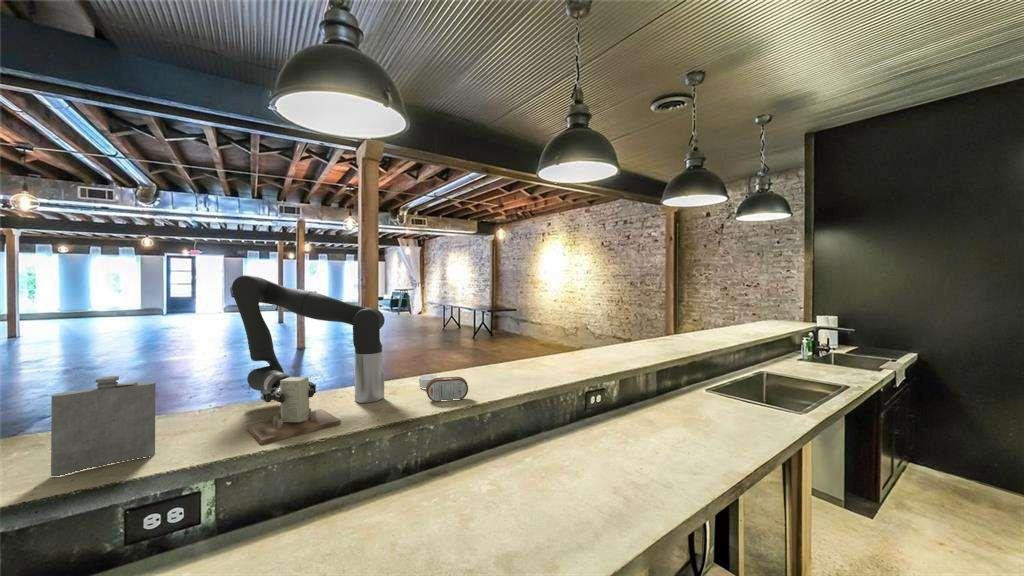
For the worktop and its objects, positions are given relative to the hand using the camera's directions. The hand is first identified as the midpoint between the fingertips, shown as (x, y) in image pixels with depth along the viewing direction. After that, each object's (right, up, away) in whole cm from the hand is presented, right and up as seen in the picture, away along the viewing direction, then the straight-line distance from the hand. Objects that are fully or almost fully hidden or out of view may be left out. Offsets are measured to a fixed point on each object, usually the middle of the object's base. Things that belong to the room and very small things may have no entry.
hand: (297, 396), depth 105 cm
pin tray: (-2, -9, +1) cm, 10 cm away
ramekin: (+28, -10, +45) cm, 54 cm away
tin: (+38, -10, +27) cm, 48 cm away
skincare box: (-2, -7, +2) cm, 8 cm away
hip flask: (-31, -9, -22) cm, 39 cm away
